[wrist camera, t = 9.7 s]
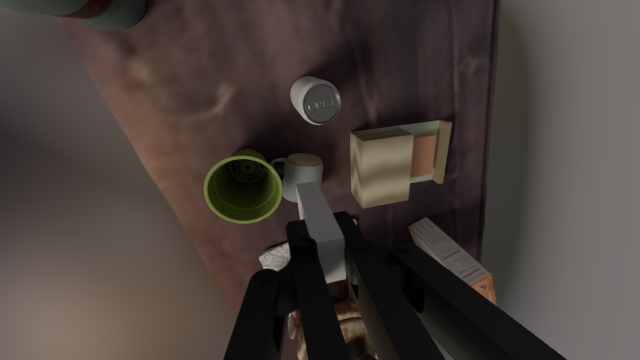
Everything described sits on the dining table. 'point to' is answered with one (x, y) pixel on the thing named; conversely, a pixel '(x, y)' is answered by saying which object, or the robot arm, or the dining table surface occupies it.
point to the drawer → (441, 146)
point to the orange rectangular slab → (422, 154)
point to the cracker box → (452, 257)
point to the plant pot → (243, 188)
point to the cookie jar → (343, 304)
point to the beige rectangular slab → (380, 165)
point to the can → (315, 100)
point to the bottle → (86, 11)
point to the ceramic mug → (299, 172)
